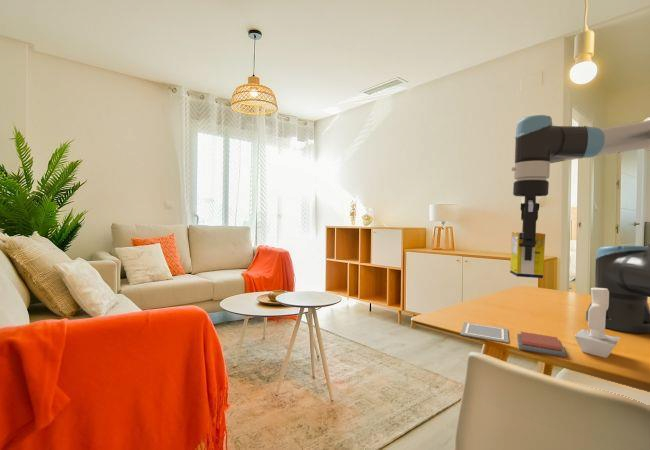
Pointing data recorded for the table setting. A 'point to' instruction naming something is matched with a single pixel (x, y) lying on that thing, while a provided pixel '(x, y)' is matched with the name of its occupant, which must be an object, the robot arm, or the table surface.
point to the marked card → (485, 332)
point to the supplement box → (517, 252)
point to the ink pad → (540, 344)
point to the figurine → (597, 327)
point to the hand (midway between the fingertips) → (526, 271)
